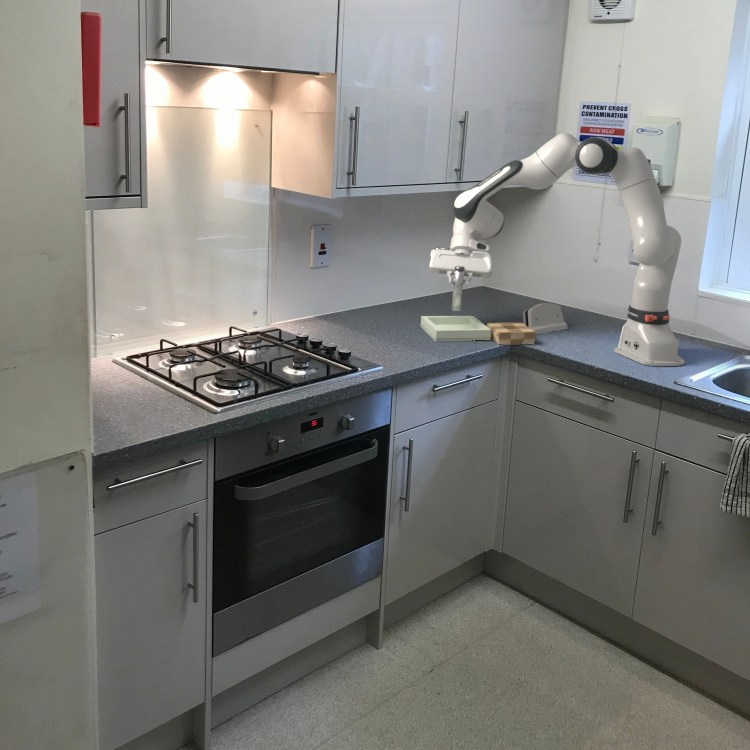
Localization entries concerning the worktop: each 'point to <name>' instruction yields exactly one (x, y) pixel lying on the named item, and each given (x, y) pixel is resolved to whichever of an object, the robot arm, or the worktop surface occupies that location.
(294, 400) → the worktop surface
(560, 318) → the grey slotted holder
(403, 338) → the worktop surface
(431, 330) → the sage tray
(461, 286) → the steel pin
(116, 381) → the worktop surface
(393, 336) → the worktop surface
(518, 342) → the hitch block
